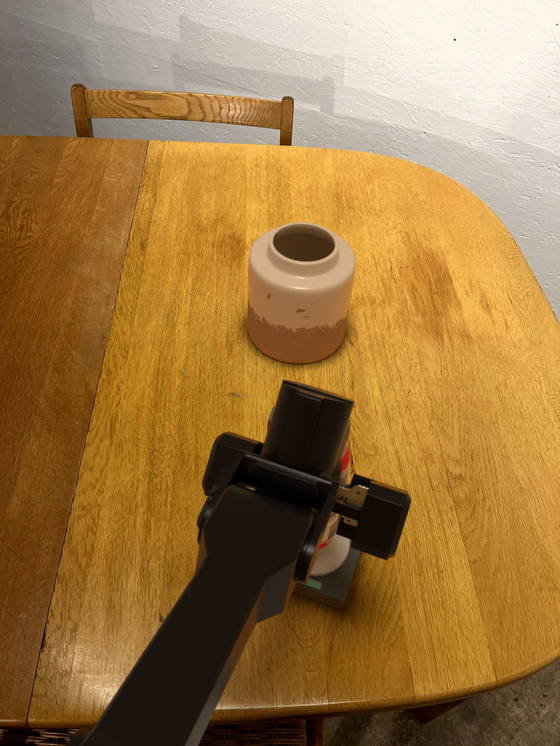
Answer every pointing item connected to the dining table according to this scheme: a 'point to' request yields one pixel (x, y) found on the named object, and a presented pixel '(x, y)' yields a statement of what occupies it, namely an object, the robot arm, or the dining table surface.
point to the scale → (331, 574)
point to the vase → (299, 292)
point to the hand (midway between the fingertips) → (318, 479)
